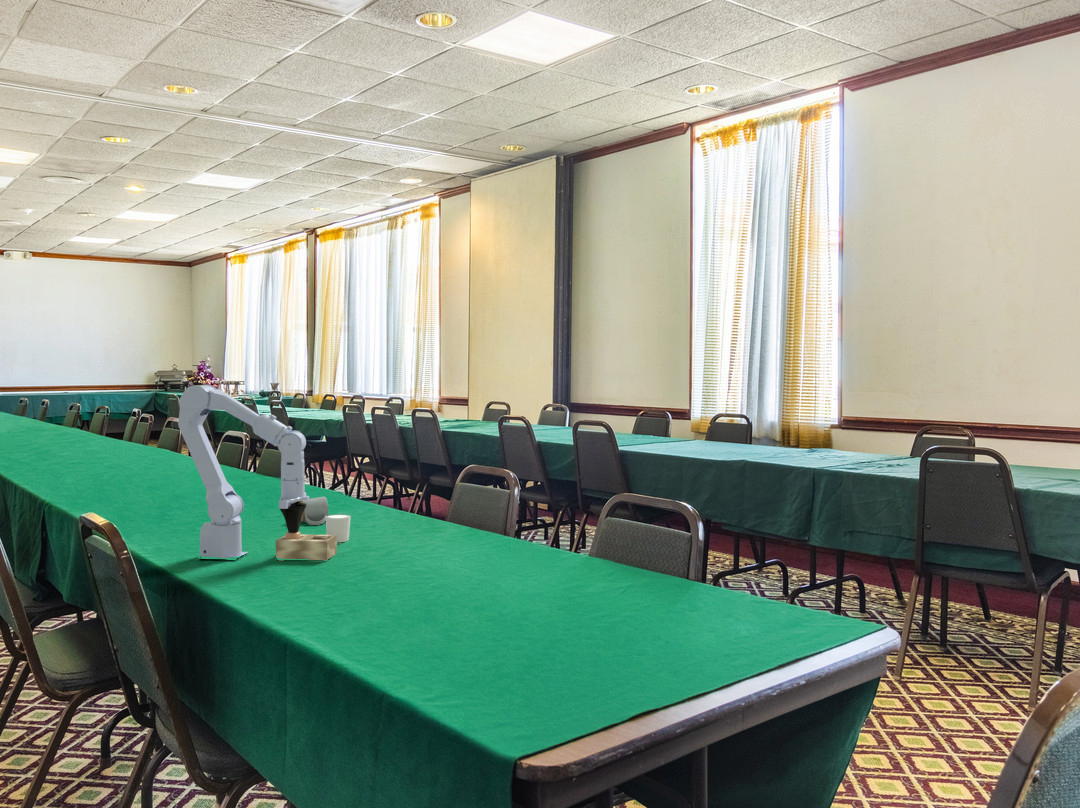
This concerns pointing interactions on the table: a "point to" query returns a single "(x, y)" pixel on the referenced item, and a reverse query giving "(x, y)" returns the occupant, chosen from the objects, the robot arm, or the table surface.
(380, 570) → the table surface
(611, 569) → the table surface
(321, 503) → the ceramic mug
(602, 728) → the table surface
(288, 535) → the terracotta peg
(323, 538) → the walnut peg
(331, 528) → the white cup
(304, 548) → the maple block
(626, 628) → the table surface
